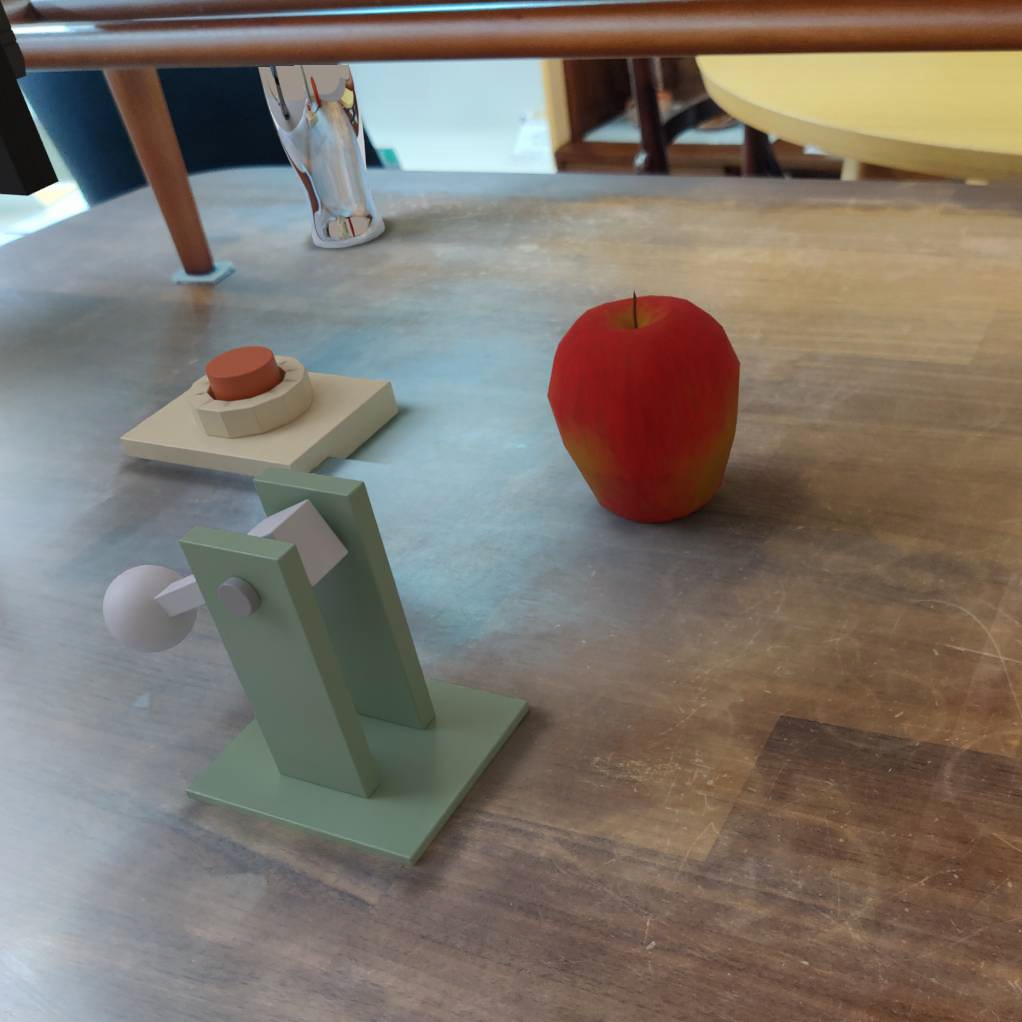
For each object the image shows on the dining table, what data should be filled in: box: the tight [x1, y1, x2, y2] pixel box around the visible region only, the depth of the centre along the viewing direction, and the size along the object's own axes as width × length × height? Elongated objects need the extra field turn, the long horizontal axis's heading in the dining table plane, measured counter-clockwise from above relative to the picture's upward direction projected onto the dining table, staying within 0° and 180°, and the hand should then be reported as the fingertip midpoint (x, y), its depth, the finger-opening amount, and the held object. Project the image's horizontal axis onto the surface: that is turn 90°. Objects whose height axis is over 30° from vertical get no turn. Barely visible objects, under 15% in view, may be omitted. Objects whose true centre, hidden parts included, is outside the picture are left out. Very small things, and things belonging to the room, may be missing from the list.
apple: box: [546, 290, 741, 523], centre depth 59 cm, size 9×9×12 cm
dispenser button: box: [204, 345, 282, 402], centre depth 71 cm, size 4×4×2 cm
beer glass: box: [257, 64, 386, 249], centre depth 96 cm, size 7×7×15 cm
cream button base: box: [119, 354, 399, 478], centre depth 72 cm, size 13×10×4 cm
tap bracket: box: [178, 467, 530, 867], centre depth 46 cm, size 11×9×13 cm
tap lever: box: [102, 499, 348, 654], centre depth 46 cm, size 13×4×4 cm, turn 65°
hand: (17, 186), depth 44 cm, fingers closed
